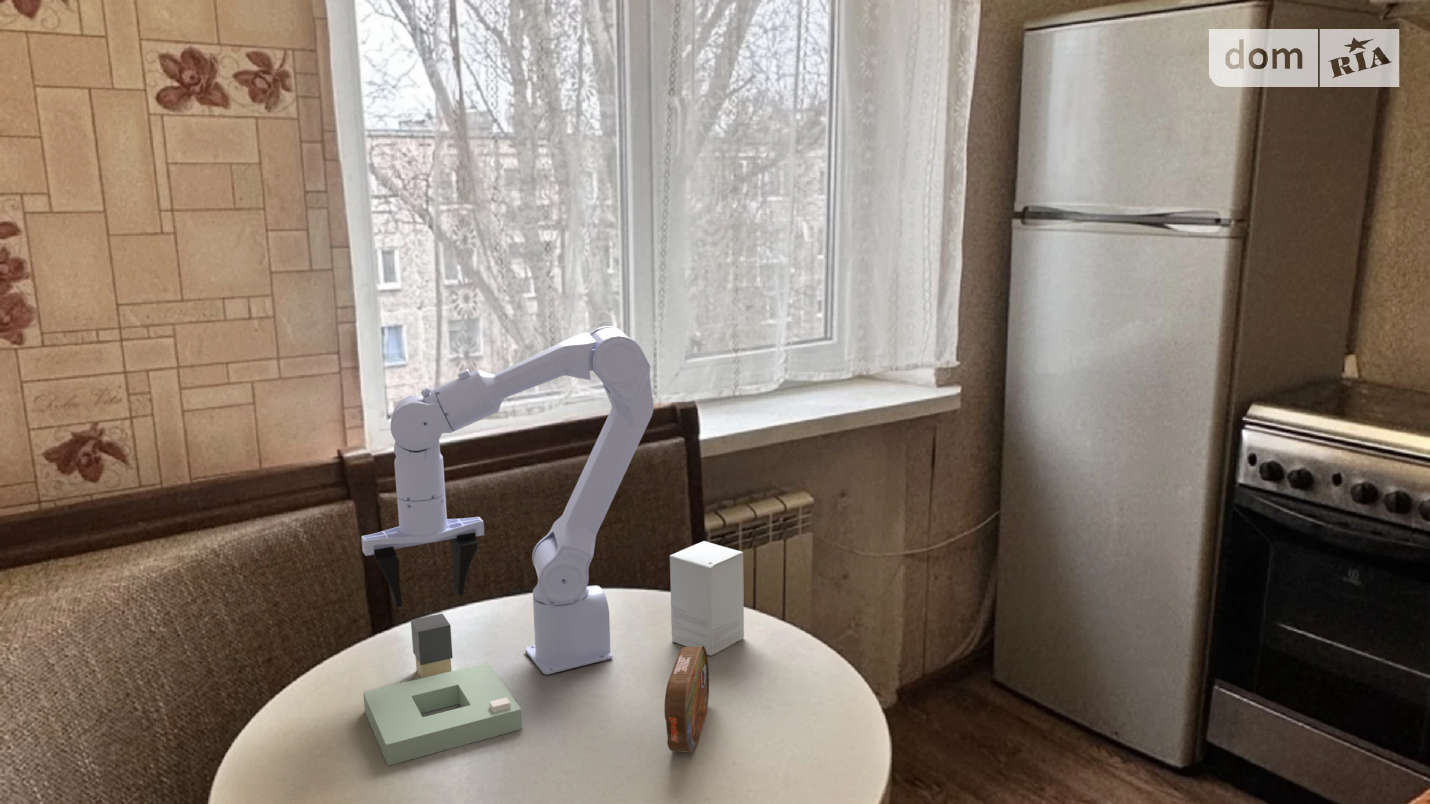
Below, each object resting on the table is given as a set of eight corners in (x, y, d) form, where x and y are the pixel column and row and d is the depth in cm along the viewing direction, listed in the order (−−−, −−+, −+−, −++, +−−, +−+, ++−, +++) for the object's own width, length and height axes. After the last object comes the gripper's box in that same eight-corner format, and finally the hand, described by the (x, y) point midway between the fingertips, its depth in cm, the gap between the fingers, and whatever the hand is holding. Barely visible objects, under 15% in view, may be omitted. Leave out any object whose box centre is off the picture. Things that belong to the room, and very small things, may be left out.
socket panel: (488, 680, 126) (487, 657, 125) (522, 728, 115) (520, 703, 114) (364, 711, 119) (362, 686, 118) (387, 765, 108) (385, 738, 107)
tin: (690, 768, 107) (689, 696, 105) (661, 766, 107) (660, 694, 106) (711, 698, 121) (711, 634, 120) (685, 696, 122) (685, 632, 120)
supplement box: (745, 638, 137) (745, 551, 134) (710, 657, 132) (709, 567, 129) (705, 623, 142) (704, 539, 139) (669, 641, 136) (668, 554, 134)
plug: (445, 663, 130) (442, 613, 129) (453, 676, 127) (450, 625, 126) (414, 670, 129) (410, 619, 127) (421, 683, 125) (418, 631, 124)
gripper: (470, 477, 130) (476, 575, 132) (353, 494, 123) (362, 598, 126) (486, 491, 124) (492, 594, 126) (364, 510, 117) (373, 618, 120)
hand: (428, 597), depth 126 cm, fingers open, 7 cm apart
